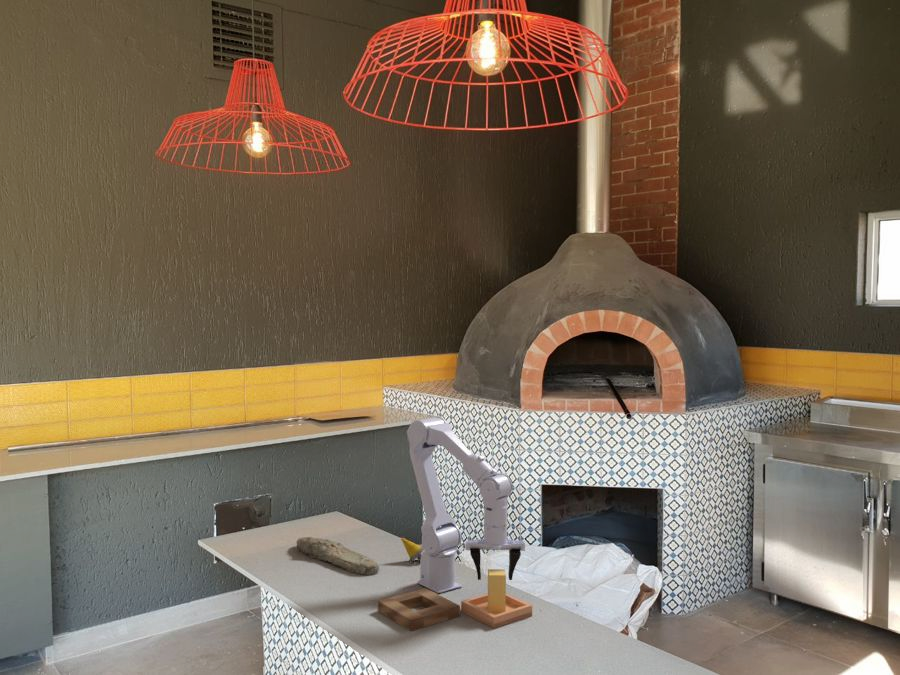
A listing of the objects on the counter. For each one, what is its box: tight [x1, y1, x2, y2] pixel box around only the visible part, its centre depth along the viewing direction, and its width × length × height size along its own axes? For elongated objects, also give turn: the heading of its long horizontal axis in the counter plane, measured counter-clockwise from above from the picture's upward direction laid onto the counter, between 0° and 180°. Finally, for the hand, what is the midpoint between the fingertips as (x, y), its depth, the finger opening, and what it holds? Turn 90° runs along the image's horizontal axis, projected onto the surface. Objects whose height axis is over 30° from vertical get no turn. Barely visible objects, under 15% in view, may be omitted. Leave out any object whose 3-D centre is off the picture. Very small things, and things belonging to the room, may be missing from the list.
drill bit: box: [400, 536, 425, 563], centre depth 216 cm, size 5×5×10 cm
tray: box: [460, 593, 533, 629], centre depth 179 cm, size 12×12×2 cm
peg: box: [487, 568, 507, 613], centre depth 179 cm, size 4×4×9 cm
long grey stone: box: [295, 536, 380, 576], centre depth 217 cm, size 35×5×10 cm
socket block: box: [377, 587, 461, 632], centre depth 179 cm, size 14×14×2 cm
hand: (494, 578), depth 185 cm, fingers open, 7 cm apart
